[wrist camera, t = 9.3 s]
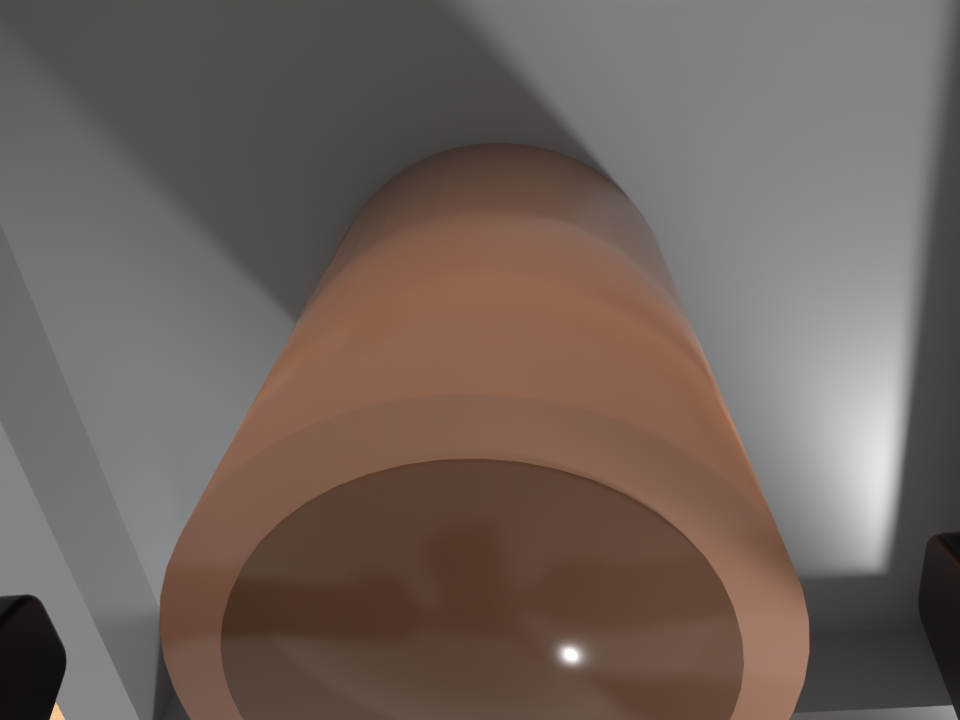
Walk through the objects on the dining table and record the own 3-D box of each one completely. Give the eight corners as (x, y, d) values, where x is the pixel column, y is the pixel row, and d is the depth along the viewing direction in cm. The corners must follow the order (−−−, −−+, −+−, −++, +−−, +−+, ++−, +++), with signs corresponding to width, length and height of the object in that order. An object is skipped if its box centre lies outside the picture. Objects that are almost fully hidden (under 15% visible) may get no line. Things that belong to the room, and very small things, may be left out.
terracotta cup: (672, 438, 16) (795, 862, 9) (366, 463, 17) (248, 879, 9) (665, 122, 13) (836, 366, 6) (297, 165, 14) (58, 434, 7)
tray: (981, 647, 19) (1049, 755, 17) (153, 691, 21) (104, 794, 19) (1232, -561, 10) (1464, -716, 7) (-276, -278, 12) (-484, -327, 9)
